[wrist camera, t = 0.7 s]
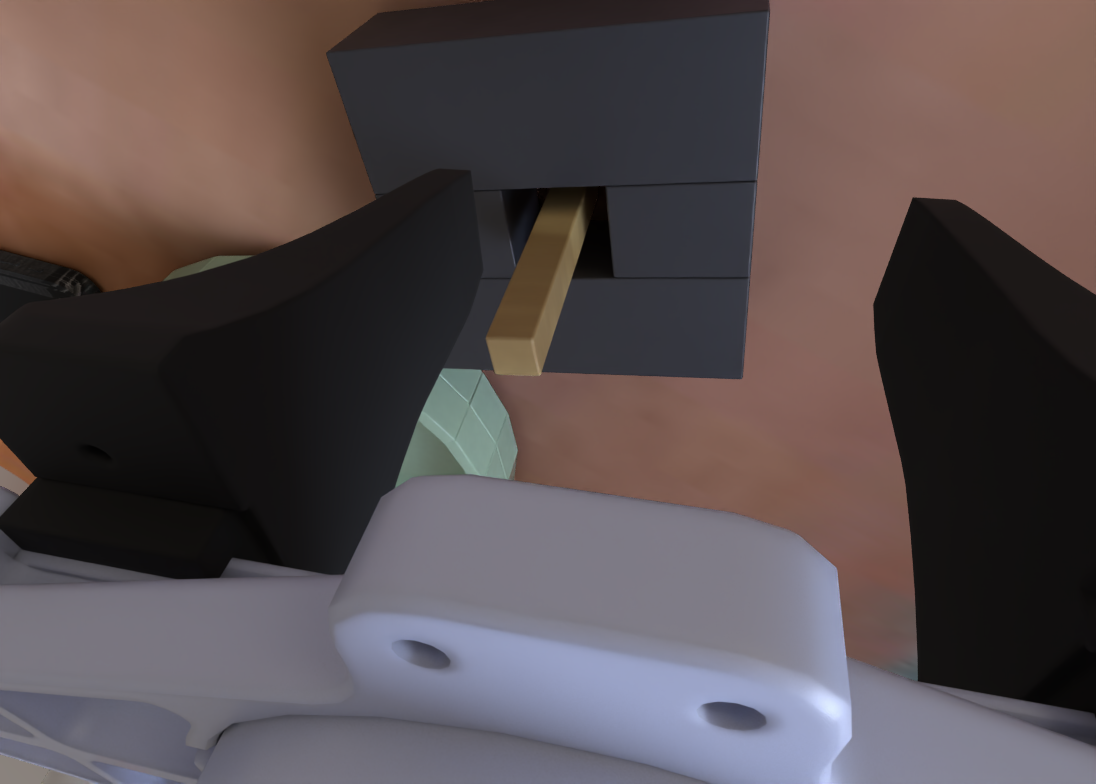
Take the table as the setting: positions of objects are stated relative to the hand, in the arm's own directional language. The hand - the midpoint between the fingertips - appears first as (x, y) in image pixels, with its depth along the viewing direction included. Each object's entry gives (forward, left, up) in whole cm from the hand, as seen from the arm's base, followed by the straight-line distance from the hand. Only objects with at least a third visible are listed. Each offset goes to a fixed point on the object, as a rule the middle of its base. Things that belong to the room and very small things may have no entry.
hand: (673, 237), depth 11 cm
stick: (-4, +4, -10) cm, 12 cm away
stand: (-4, +4, -10) cm, 12 cm away
